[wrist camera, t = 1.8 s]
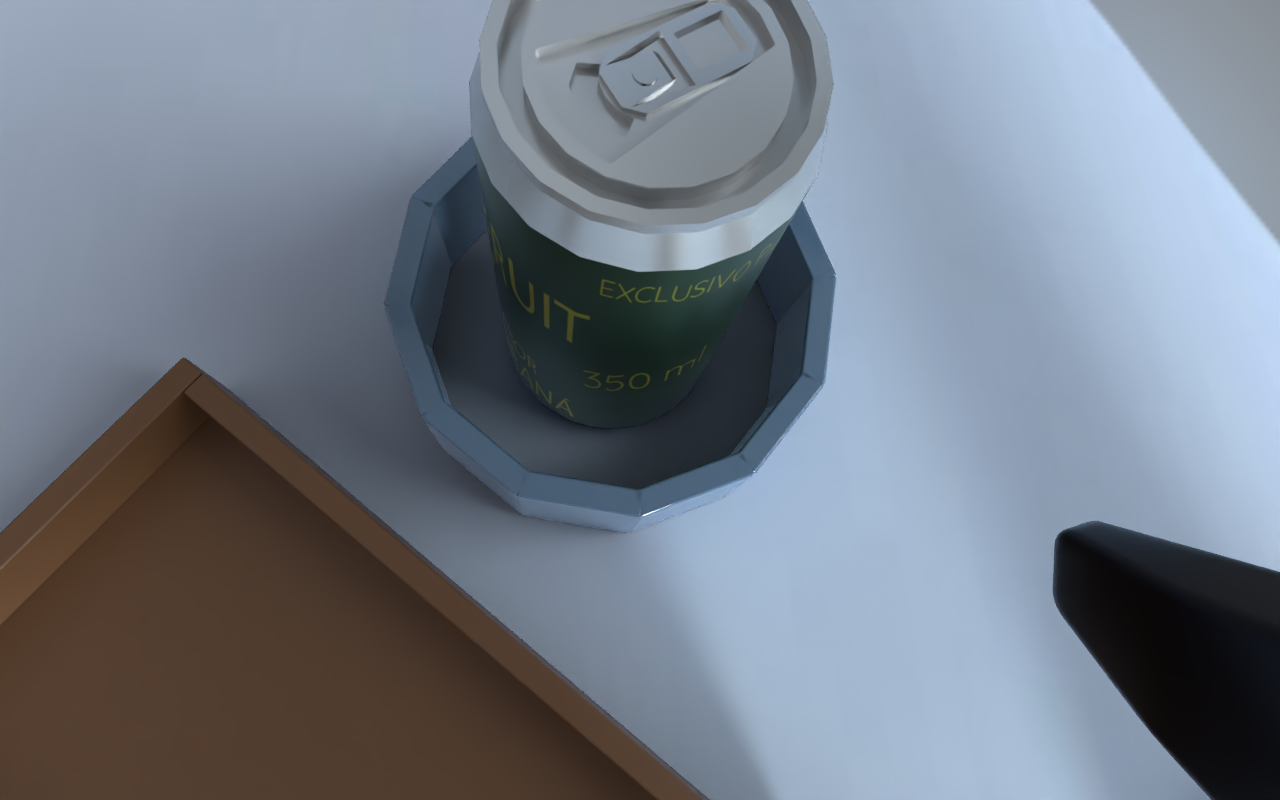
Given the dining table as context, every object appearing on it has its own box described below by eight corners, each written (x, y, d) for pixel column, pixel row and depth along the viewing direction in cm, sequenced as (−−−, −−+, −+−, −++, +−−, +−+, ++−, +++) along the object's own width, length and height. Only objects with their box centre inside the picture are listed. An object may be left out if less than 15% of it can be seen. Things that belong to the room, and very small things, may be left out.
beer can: (640, 213, 25) (715, -151, 13) (744, 372, 24) (923, 132, 12) (470, 302, 24) (389, -9, 12) (573, 472, 23) (591, 314, 11)
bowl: (865, 318, 25) (914, 270, 21) (635, 611, 22) (650, 608, 19) (584, 100, 25) (588, 20, 22) (332, 357, 23) (293, 310, 20)
